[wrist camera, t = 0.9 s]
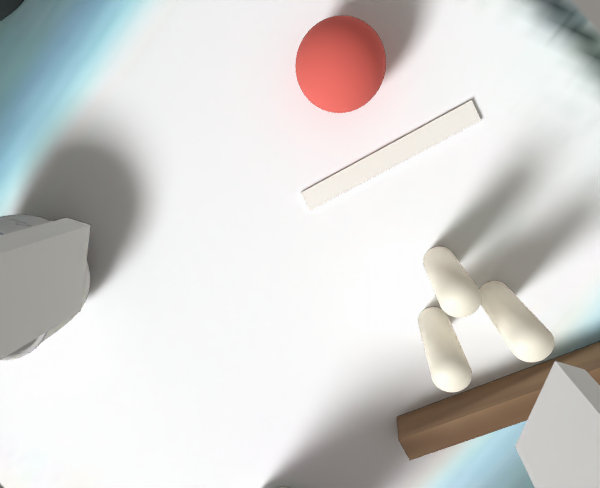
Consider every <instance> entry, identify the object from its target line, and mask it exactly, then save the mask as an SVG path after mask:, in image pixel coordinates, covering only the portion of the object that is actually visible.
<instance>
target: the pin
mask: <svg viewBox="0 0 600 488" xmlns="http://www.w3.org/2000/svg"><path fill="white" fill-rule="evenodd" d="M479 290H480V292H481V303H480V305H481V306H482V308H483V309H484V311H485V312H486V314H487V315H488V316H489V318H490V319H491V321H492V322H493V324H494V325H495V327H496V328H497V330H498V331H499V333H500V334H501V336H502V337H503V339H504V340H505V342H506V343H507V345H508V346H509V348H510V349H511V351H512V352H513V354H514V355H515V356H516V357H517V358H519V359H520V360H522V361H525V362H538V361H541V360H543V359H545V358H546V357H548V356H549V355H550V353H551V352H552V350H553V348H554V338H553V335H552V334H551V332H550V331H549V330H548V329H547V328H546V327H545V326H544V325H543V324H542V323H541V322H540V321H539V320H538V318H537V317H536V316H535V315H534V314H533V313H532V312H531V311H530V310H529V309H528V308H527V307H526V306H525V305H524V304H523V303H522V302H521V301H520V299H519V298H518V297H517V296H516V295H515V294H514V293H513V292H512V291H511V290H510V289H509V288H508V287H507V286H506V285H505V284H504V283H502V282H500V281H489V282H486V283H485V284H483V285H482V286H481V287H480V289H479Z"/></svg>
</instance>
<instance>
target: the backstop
mask: <svg viewBox="0 0 600 488" xmlns="http://www.w3.org/2000/svg"><path fill="white" fill-rule="evenodd" d="M555 361H557V362H561V363H564V364H568V365H571V366H575V367H578V368H581V369H585V370H586V371H587V372H588V373H589V374H590V376H591V377H592V378H593V379H594V380H595V381H596V382H597V383H598V384H599V385H600V341H599V342H597V343H594V344H591V345H589V346H586V347H583V348H581V349H578V350H575V351H573V352H570V353H567V354H565V355H562V356H559V357H557V358H554V359H551V360H548V361H546V362H543V363H540V364H538V365H535V366H532V367H530V368H527V369H524V370H522V371H519V372H516V373H514V374H511V375H508V376H506V377H503V378H500V379H498V380H495V381H492V382H489V383H487V384H484V385H481V386H479V387H476V388H473V389H471V390H468V391H465V392H463V393H460V394H457V395H455V396H452V397H449V398H447V399H444V400H441V401H439V402H436V403H433V404H430V405H428V406H425V407H422V408H420V409H417V410H414V411H412V412H409V413H406V414H404V415H401V416H398V417H397V426H398V438H399V441H400V443H401V445H402V447H403V449H404V450H405V452H406V454H407V456H408V458H409V459H410V460H412V459H415V458H418V457H421V456H424V455H427V454H430V453H433V452H436V451H439V450H441V449H444V448H447V447H450V446H453V445H456V444H459V443H462V442H465V441H468V440H471V439H474V438H476V437H479V436H482V435H485V434H488V433H491V432H494V431H497V430H500V429H503V428H506V427H508V426H511V425H514V424H517V423H520V422H523V421H526V420H528V418H529V416H530V413H531V411H532V409H533V407H534V405H535V403H536V401H537V398H538V396H539V394H540V392H541V390H542V388H543V386H544V383H545V381H546V379H547V377H548V375H549V373H550V371H551V368H552V366H553V364H554V362H555Z"/></svg>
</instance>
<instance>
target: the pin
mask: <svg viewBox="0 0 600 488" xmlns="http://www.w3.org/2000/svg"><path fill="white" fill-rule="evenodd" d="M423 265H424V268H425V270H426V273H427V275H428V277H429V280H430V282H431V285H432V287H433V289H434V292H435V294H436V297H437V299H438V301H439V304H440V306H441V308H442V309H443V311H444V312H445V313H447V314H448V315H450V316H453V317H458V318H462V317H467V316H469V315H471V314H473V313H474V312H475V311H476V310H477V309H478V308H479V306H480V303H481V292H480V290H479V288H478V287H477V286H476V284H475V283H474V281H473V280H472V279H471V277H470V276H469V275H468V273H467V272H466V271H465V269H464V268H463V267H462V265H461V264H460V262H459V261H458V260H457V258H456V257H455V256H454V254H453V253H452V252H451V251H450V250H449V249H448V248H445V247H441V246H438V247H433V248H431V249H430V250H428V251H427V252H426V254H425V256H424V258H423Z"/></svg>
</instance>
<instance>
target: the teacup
mask: <svg viewBox="0 0 600 488" xmlns="http://www.w3.org/2000/svg"><path fill="white" fill-rule="evenodd" d="M48 222H51V221H49V220H47V219H44V218H41V217H37V216H31V215H9V216H2V217H0V235H4V234H8V233H11V232H15V231H19V230H22V229H26V228H30V227H33V226H37V225H41V224H45V223H48ZM89 287H90V271H89V266H88V262H87V261H86V269H85V277H84V286H83V294H82V303H81V308H82V306H83V305H84V303H85V301H86V298H87V295H88V292H89ZM75 315H76V314H75ZM75 315H73V316H72V317H70V318H68V319H67V320H65V321H63V322H62V323H60V324H59V325H57V326H55V327H54V328H52V329H50V330H49V331H47V332H45V333H44V334H42V335H40V336H39V337H37V338H36V339H34V340H32V341H31V342H29V343H27V344H26V345H24V346H22V347H21V348H19V349H17V350H16V351H14V352H13V353H11V354H9V355H8V356H6V357H4V358H3V359H1V360H11V359H16V358H20V357H22V356H24V355H26V354H28V353H30V352H31V351H33V350H34V349H35V348H36V347H37V346H38V345H39V344H40V343H41V342H43V341H44V340H45V339H47V338H48V337H50V336H51V335H52V334H54V333H55V332H56V331H58V330H59V329H60V328H62V327H63V326H64V325H65V324H67V323H68V322H69V321H70V320H71V319H72V318H73V317H74V316H75Z"/></svg>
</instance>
